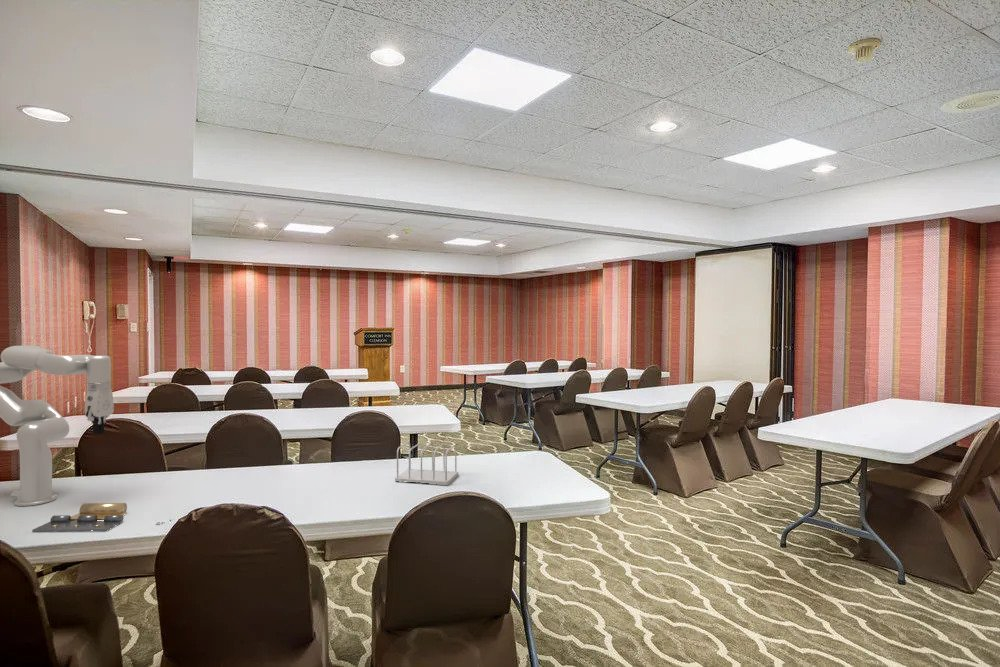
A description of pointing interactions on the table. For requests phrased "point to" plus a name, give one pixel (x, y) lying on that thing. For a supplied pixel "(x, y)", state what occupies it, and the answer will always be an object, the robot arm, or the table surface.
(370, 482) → the table surface
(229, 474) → the table surface
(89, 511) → the bronze hinge leaf
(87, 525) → the steel hinge leaf
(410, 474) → the file sorter
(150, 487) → the table surface
